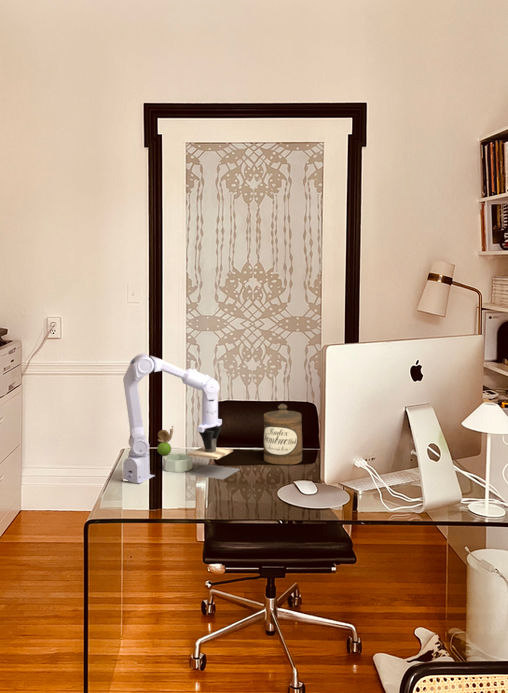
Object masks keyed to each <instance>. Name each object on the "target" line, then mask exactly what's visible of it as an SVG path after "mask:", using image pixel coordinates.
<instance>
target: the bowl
mask: <svg viewBox="0 0 508 693" xmlns="http://www.w3.org/2000/svg"><path fill="white" fill-rule="evenodd" d="M162 466H163V467H162V468H163V469H164V471H166V472H169V473H182V472H188V471H190V470H191V469H193V457H192V456H188V453H172V454H171V453H169V454H168V455H166V456H163V458H162Z"/></svg>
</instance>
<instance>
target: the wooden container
mask: <svg viewBox="0 0 508 693" xmlns="http://www.w3.org/2000/svg"><path fill="white" fill-rule="evenodd" d="M277 408H278V410H272V411H268V412H265V413H264V414H263V461H265V462H267V463H269V464H275V465H289V466H291V465H297V464H300V463H301V462H302V461H303V431H302V430H303V427H302V422H303V420H302V416H303V415H302V413H301V412H298V411H295V410H287V409H288V405H287V404H285V403H281V404H279V405H278V406H277Z"/></svg>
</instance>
